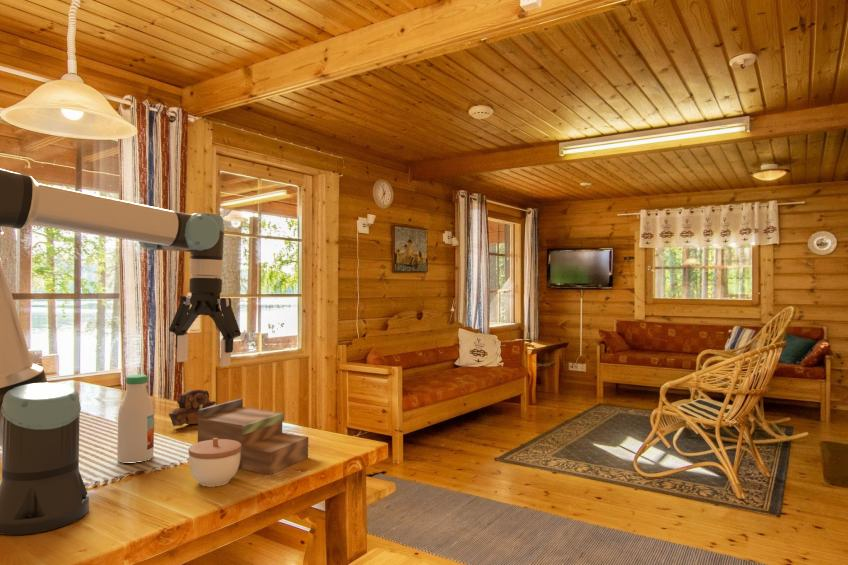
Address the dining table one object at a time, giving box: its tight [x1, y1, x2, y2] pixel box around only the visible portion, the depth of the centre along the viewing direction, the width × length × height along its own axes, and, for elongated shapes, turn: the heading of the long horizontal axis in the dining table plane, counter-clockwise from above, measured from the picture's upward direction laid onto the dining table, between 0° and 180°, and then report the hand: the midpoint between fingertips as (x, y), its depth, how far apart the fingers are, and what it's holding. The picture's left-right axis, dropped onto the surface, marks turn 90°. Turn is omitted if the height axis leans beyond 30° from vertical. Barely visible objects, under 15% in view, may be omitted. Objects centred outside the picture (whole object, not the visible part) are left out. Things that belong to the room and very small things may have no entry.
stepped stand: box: [197, 398, 309, 475], centre depth 140 cm, size 14×22×12 cm, turn 65°
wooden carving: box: [168, 389, 216, 427], centre depth 170 cm, size 16×5×10 cm, turn 162°
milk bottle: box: [116, 374, 155, 462], centre depth 137 cm, size 8×8×20 cm
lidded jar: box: [187, 438, 241, 488], centre depth 124 cm, size 11×11×9 cm
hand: (203, 363), depth 142 cm, fingers open, 13 cm apart
